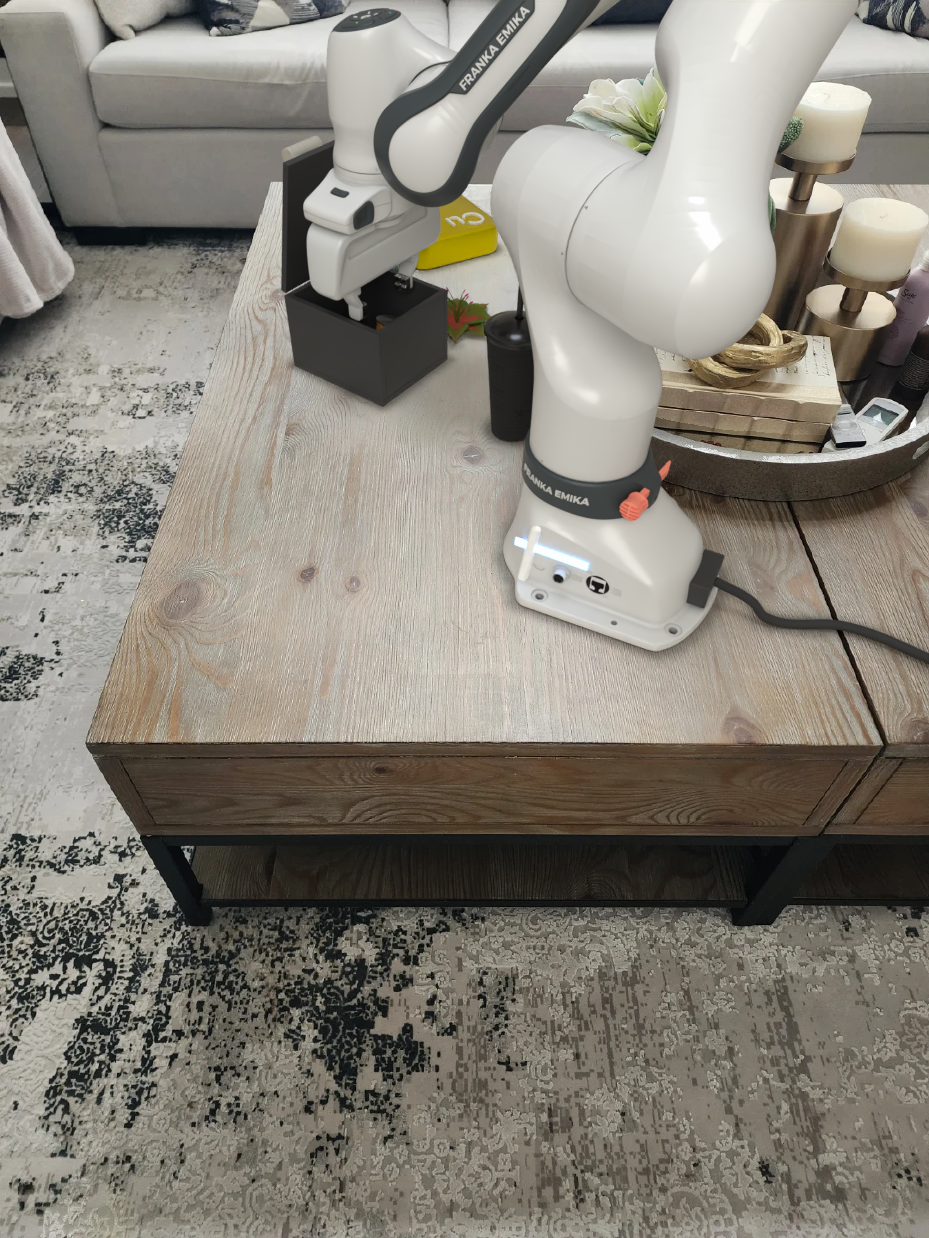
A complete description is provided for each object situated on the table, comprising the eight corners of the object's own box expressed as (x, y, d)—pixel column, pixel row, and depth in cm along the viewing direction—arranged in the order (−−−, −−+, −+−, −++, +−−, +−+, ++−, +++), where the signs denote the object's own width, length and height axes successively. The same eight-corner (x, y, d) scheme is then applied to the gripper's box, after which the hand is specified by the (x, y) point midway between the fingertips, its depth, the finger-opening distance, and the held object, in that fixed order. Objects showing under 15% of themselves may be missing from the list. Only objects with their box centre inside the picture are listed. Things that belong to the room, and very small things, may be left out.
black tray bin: (447, 359, 113) (448, 290, 106) (382, 406, 106) (378, 335, 99) (361, 323, 119) (356, 254, 112) (294, 365, 112) (283, 295, 104)
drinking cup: (469, 438, 102) (474, 279, 87) (495, 405, 107) (504, 249, 92) (527, 456, 100) (543, 297, 85) (551, 422, 105) (570, 264, 90)
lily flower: (498, 347, 116) (500, 316, 112) (410, 344, 116) (410, 313, 112) (499, 303, 123) (500, 273, 120) (417, 300, 123) (416, 269, 120)
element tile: (454, 214, 142) (454, 185, 139) (501, 251, 134) (503, 221, 130) (374, 233, 137) (372, 203, 134) (418, 273, 129) (417, 242, 125)
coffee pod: (414, 358, 112) (419, 324, 109) (392, 363, 108) (397, 328, 106) (386, 347, 114) (391, 313, 111) (364, 352, 110) (368, 317, 108)
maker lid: (370, 129, 98) (337, 110, 99) (288, 166, 91) (253, 144, 92) (358, 252, 111) (329, 234, 112) (285, 293, 104) (255, 273, 105)
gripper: (410, 150, 101) (413, 263, 111) (291, 209, 90) (307, 328, 100) (453, 164, 99) (452, 278, 109) (336, 225, 87) (347, 346, 98)
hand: (381, 302), depth 104 cm, fingers open, 7 cm apart
